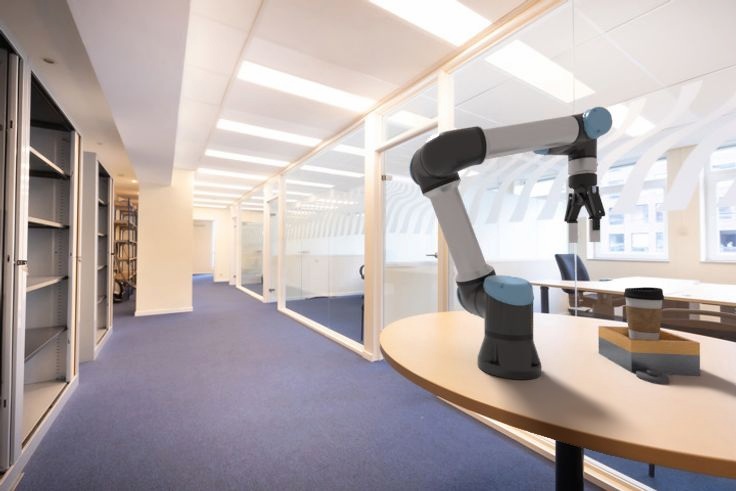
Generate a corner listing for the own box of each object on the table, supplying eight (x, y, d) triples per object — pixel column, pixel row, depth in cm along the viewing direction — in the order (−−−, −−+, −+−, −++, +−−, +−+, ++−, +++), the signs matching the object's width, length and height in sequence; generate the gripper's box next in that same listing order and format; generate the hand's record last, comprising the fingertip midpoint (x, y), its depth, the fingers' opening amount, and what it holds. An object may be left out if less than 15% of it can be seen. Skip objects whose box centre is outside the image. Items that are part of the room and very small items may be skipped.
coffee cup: (673, 349, 83) (672, 290, 83) (635, 347, 85) (634, 289, 85) (651, 340, 91) (651, 286, 92) (617, 338, 93) (617, 285, 93)
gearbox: (631, 372, 82) (631, 340, 82) (598, 353, 96) (598, 326, 97) (700, 375, 79) (699, 342, 79) (655, 355, 94) (655, 327, 94)
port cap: (646, 384, 75) (646, 374, 75) (630, 374, 81) (630, 365, 81) (676, 386, 74) (676, 376, 74) (657, 375, 80) (657, 366, 80)
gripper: (620, 164, 90) (620, 241, 89) (576, 182, 114) (576, 242, 114) (590, 165, 91) (590, 241, 91) (553, 182, 115) (553, 242, 115)
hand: (582, 242), depth 102 cm, fingers open, 13 cm apart
